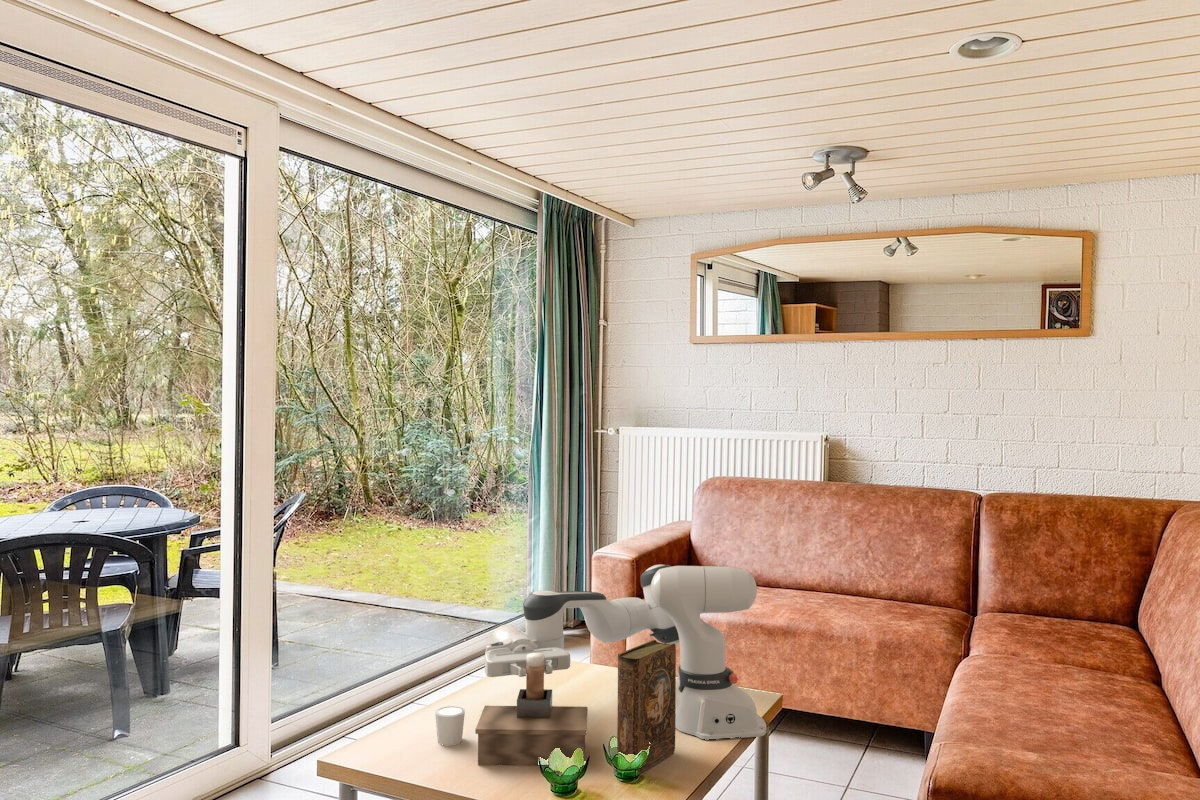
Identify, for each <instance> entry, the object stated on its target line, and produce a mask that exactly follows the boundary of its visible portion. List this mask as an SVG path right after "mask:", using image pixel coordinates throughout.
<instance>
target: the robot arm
mask: <svg viewBox="0 0 1200 800" xmlns="http://www.w3.org/2000/svg"><path fill="white" fill-rule="evenodd" d="M639 578H640V586H641V588H642V590H643V591H642V592H643V597H644V600H643V599H641V598H640V597H629V596H627V597H620V598H616V599H610V600H609V599H608V598H607V597H606V595H605V594H603V593H601V592H595V591H589V590H588V591H584V590H583V591H580V590H578V591H572V590H571V591H570V590H569V591H554V590H553V591H552V590H545V589H543V590H542V589H541V590H536V591H532V592H530V593H529V594H528V596H527V597H526V598H525V599H524V600H523V603H522V606H523V607H522V609H523V616H524V625H525V630H524V631H522V630H521V629H520V628H518V627H517V626H514V625H512V624H502V625H500V626H499V627H497V628H496V629H495V630H494V632H493V634H492V636H491V640H490V644H487V645H486V646H485V653H484V673H485V676H487V677H488V678H496V677H505V676H514V675H515V676H518V677H519V678H523V677H526V671H527V654H530V653H541V654H544V675H550V674H553V671H554V672H555V671H561V670H568V669H570V667H571V654H570V652H568V651H567V650H565V641H564V640H565V638H564V620H563V619H564V618H563V617H564V612H565V610H566V609H576V608H579V609H580V611H581V612H582V613H581V614H582V615H583V618H584V620H585V622H584V623H585V624H586V627H587V630H588V631H589V632H590V634H591V635H592V636H593V637H594V638H595V640H598V641H600V642H602V643H608V644H609V643H610V644H611V643H615V642H619V641H623V640H626V639H628V638H631V637H633V636H634V635H636V634H639V633H641V632H643V631H645V630H649V631H651V632H652V633H649V636H650V637H651V638H652V637H653V638H654V639H655V640H656V641H657V642H659V643H663V644H672V643H674V644H675V645H678V644H679V653H680V654H679V655H680V656H679V657H680V658H679V659H680V664H679V666H678V671H677V688H678V700H677V707H676V710H675V729H677V731H680V732H681V733H684V734H688V735H691V736H696V737H697V738H699V739H701V740H703V739H705V740H704V741H710V740H709V739H716V740H720V739H719V738H730V739H732V738H731V737H734V738H733V739H736V738H735V737H739V738H738V739H743V738H758V737H763V736H765V735H766V733H767V730H768V729H767V724H766V721H765V719H763V717H762V716H760V715H759V714H758V712H757V706H756V705H755V702H754V700H753V699H752V697H751V696H750V695H749V694H748V693H747V692H745V691H744V690H743V689H741V688H740V687H739V686H737V683H738V682H739V678H738V676H737V674H736V673H734V671H733V670H732V669H731V668H730V667H729V666H728V667H727V666H726V664H727V663H726V662H727V660H726V657H727V656H726V655H727V654H726V653H727V651H726V650H727V643H726V638H725V635H724V633H723V632H722V631H720V630H719V628H716V627H715V626H714V625H711V624H709V623H707V622H706V621H704V620H703V619H702V618H701V615H702V614H726V613H727V614H728V613H734V612H736V613H737V612H742V611H746V610H750V608H751V607H752V606H753V605H754V603H755V601H756V598H757V593H758V591H757V589H758V588H757V584H756V583H757V582H756V580H755V578H754V576H753V575H752V573H750V572H749V570H747V569H742V568H739V567H733V566H732V567H731V566H720V565H719V566H717V565H716V566H715V565H713V566H712V565H711V566H709V565H704V566H703V565H701V566H700V565H674V566H671V565H670V564H654V565H652V566H650V567H648V568H647V569H646V570H645V571H644V572H642V574H641V575H640V577H639ZM740 737H741V738H740Z"/></svg>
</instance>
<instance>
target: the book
mask: <svg viewBox="0 0 1200 800" xmlns="http://www.w3.org/2000/svg"><path fill="white" fill-rule="evenodd" d="M676 646H677V644H674V643H672V644H664V643H662V642H660V641H658V640H657V639H652V640H649V641H647V642H644V643H642V644H640V645H637V646H634V647H632V648H630V649H627V650H624V651H623V652H620V653H618V654H617V721H616V722H617V733H616V734H617V735H616V738H617V739H616V740H617V741H616V742H617V743H616V745H617V747H616V749H617V750H618V752H621V753H623V754H625V755H628V754H634V755H637V754H638V753H639V752H640V751H641V750H647V749H648V747H649V746H650V749H649V755H648V758H647V760H646V762H645V763H644V764H643V765H642V767H641V768H640V771H639V772H640V776H642V775H644V774H645V773H646V772H648V771H650V770H651V769H653V768H655V767H656V766H658V765H659V764H661V763H662V762H664V761H666V760H667V759H669V758H670V757H672V755H674V753H675V751H676V728H675V715H676V710H677V707H676V703H677V702H676V701H677V700H676V699H677V698H676V694H677V693H676V691H677V690H676V689H677V688H676V686H677V685H676V683H677V682H676V680H677V679H676V677H677V675H676V674H677V670H676V665H677V658H676V657H677V650H676V649H677V647H676ZM649 742H650V743H651V744H649ZM617 750H616V751H617Z"/></svg>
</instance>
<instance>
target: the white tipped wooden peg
mask: <svg viewBox="0 0 1200 800" xmlns="http://www.w3.org/2000/svg"><path fill="white" fill-rule="evenodd" d="M525 677H526V678H525V679H526V681H525V682H526V683H525V686H526V687H525V689H526V699H544V689H545V673H544V654H541V653H530V654H527V671H526V676H525Z"/></svg>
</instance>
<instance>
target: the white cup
mask: <svg viewBox="0 0 1200 800" xmlns="http://www.w3.org/2000/svg"><path fill="white" fill-rule="evenodd" d="M434 713H435V725H436V737H437V743H438V744H439V743H440V744H443V745H442V746H445V745H452V746H455V745H454V744H457V745H459V744H461V743H462V741H463V734H464V723H465V713H466V711H465V709H464V708H463V707H460V706H456V705H455V706H452V705H451V706H442V707H439V708H438V709H436V710H435V712H434ZM460 742H461V743H460ZM458 743H459V744H458ZM440 744H439V745H440Z"/></svg>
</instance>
